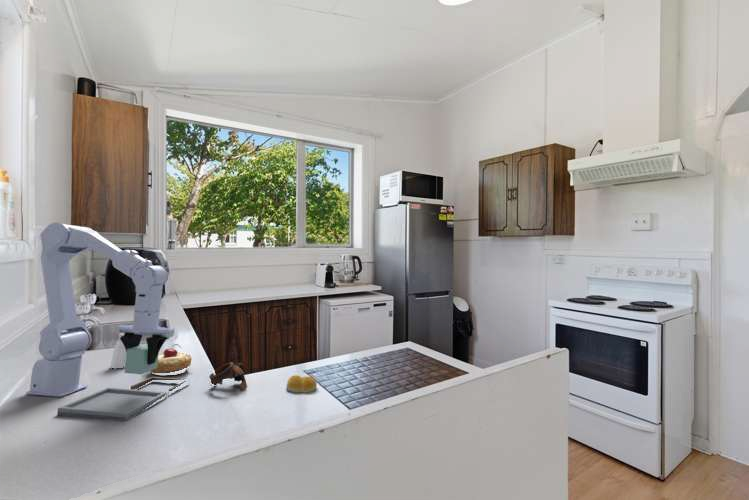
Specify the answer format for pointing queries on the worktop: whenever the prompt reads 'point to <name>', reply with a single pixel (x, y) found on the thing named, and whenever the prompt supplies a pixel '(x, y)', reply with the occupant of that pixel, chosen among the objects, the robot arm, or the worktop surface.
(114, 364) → the salt shaker
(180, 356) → the pastry
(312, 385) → the bread roll
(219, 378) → the brown piece
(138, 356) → the teal block
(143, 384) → the dark bent strip
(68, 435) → the worktop surface
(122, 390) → the grey tray
